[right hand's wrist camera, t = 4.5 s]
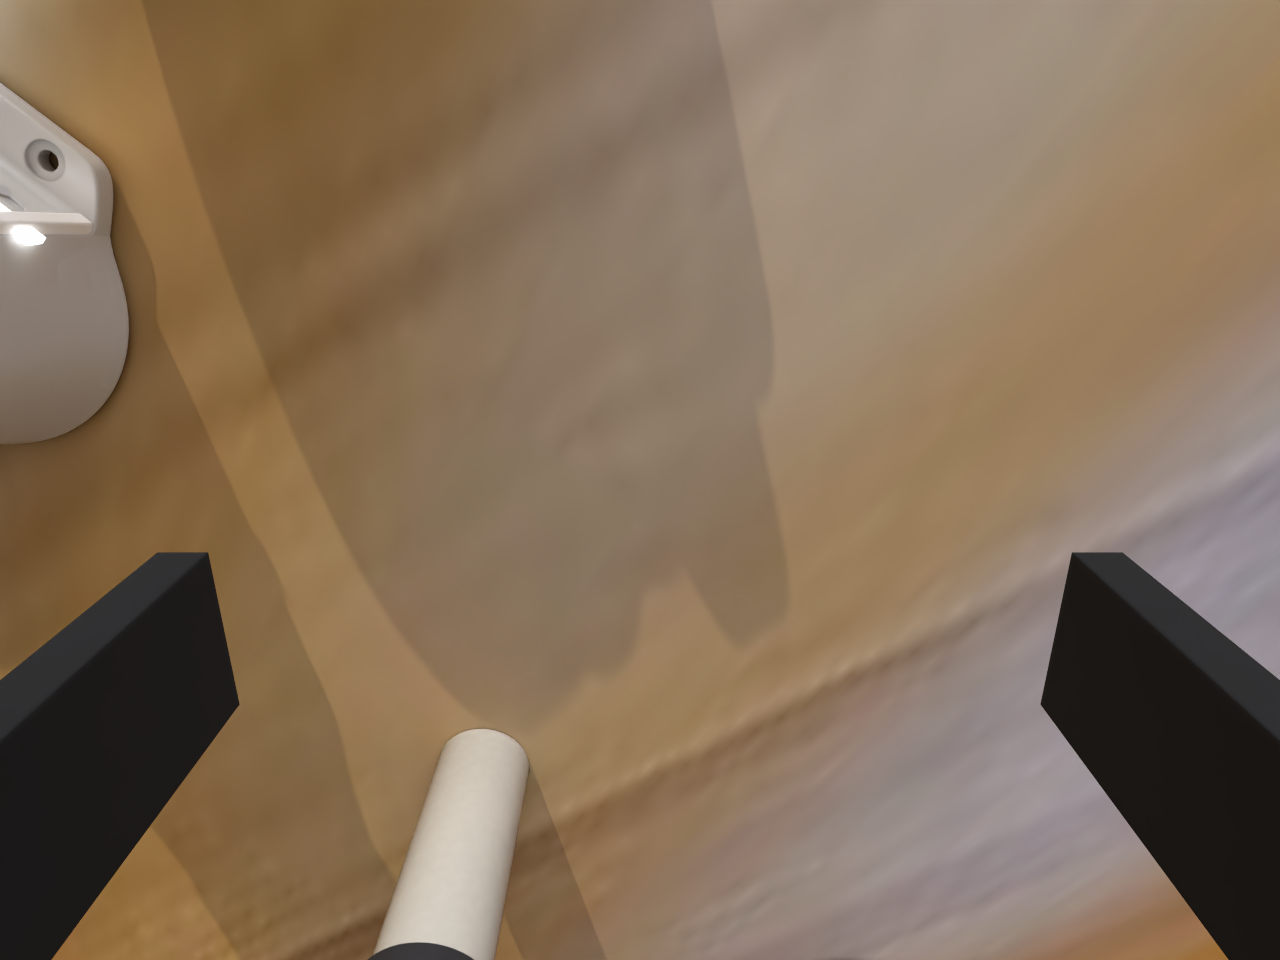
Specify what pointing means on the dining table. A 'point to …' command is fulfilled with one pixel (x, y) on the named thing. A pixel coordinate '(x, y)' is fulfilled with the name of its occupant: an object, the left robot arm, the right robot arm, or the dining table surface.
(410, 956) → the lid
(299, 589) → the dining table surface
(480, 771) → the jar
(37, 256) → the left robot arm
